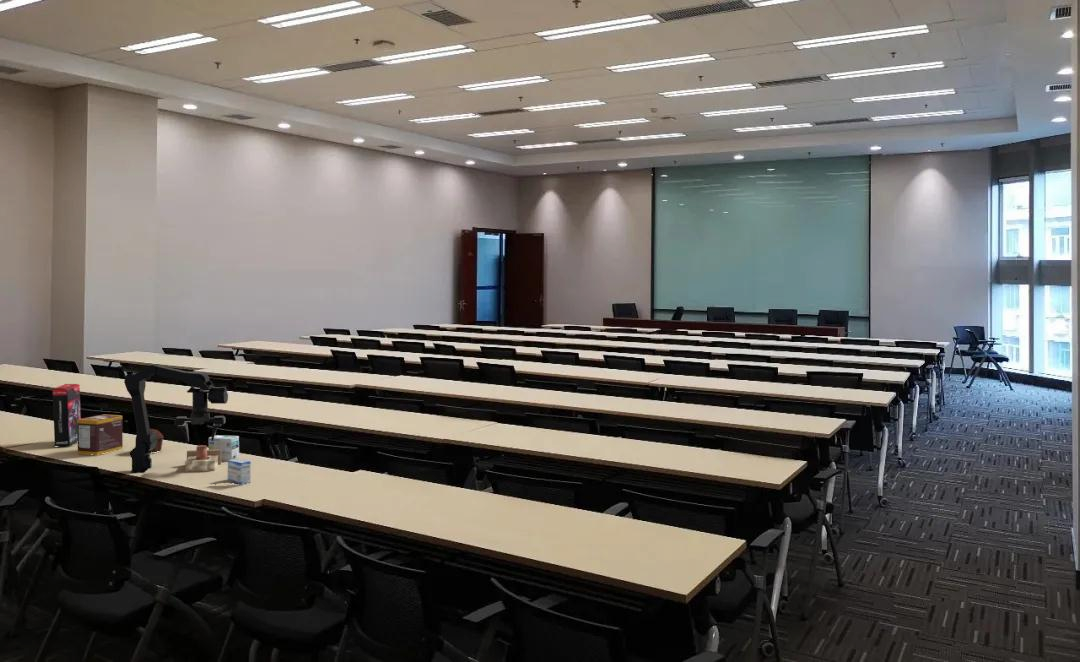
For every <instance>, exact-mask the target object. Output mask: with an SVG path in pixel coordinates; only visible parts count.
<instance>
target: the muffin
mask: <svg viewBox="0 0 1080 662" xmlns="http://www.w3.org/2000/svg"><path fill="white" fill-rule="evenodd" d="M150 430H151V431H152V433H153V432H156V438H157V440H158V441H157V442H156V446H155V448H154V449H152V451H151V452H157V451H160V450H161V451H162V446H163V441H164V440H163V439H164V437H165V436H164V435H163V433H162V432H160V430H157V429H154V428H150ZM161 451H160V452H161Z"/></svg>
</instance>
